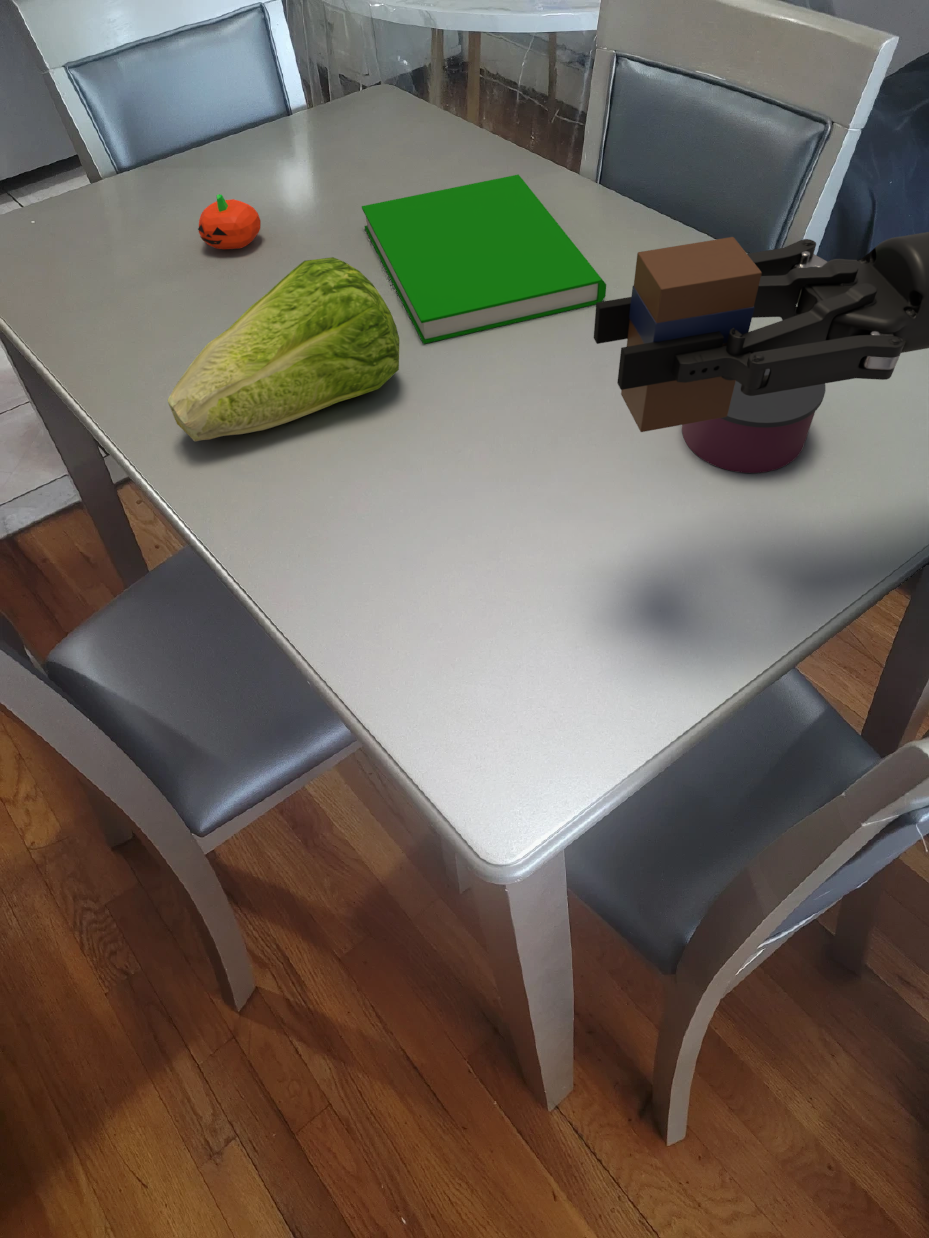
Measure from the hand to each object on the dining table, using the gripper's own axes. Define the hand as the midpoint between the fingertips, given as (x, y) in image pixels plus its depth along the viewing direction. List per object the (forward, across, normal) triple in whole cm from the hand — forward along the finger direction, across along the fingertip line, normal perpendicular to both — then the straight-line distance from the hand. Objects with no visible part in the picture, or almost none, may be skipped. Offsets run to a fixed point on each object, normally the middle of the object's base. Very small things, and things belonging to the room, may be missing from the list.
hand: (609, 345), depth 57 cm
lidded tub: (-21, +15, -24) cm, 36 cm away
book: (-2, +54, -25) cm, 59 cm away
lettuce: (+23, +32, -24) cm, 47 cm away
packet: (-5, 0, -6) cm, 8 cm away
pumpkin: (+28, +68, -25) cm, 77 cm away
